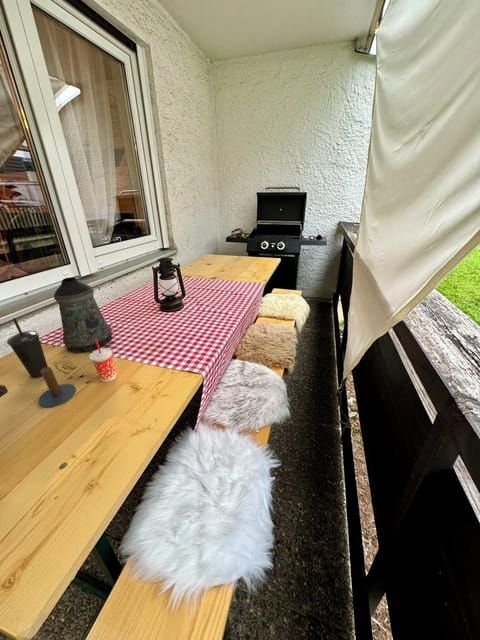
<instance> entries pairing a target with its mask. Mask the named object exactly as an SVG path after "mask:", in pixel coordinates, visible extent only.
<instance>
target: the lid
mask: <svg viewBox="0 0 480 640" xmlns="http://www.w3.org/2000/svg"><path fill="white" fill-rule="evenodd" d="M41 374H42V376H41V377H42V378H43V380H44V383H45V385H46V386H47V389H46V390H45V391H44V392H43V393H42V394H41V395H40V396H39V398H38V401H37V403H38V404H39V406H40V407H42V408H46V409H50V408H56V407H58V406H61V405H63V404H65V403H67V402H68V401H70V400H71V399H72V398H73V397H74V395H75V394H76V392H77V389H76V387H75V385H74V384H71V383H61V384H59V382H58V380H57V378H56V376H55V374H54V371H53V369H52V367H51V366H48V367H45V368H43V369H42V370H41Z"/></svg>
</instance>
